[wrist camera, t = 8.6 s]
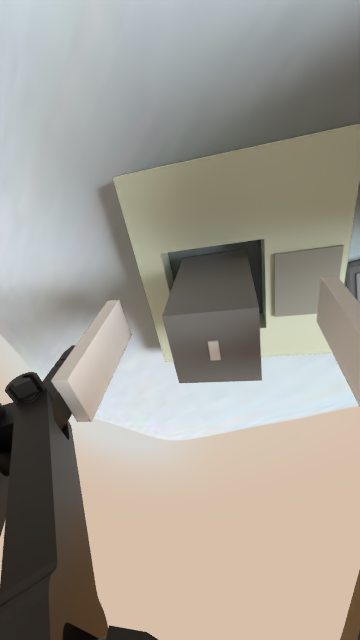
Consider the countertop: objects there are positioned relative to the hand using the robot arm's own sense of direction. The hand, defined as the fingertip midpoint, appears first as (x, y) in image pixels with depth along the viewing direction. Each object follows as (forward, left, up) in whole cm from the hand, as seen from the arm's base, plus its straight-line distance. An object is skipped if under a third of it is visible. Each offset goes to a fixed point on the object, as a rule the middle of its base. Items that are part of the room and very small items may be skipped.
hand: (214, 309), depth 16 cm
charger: (+1, 0, -5) cm, 5 cm away
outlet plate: (-1, +1, -5) cm, 5 cm away
